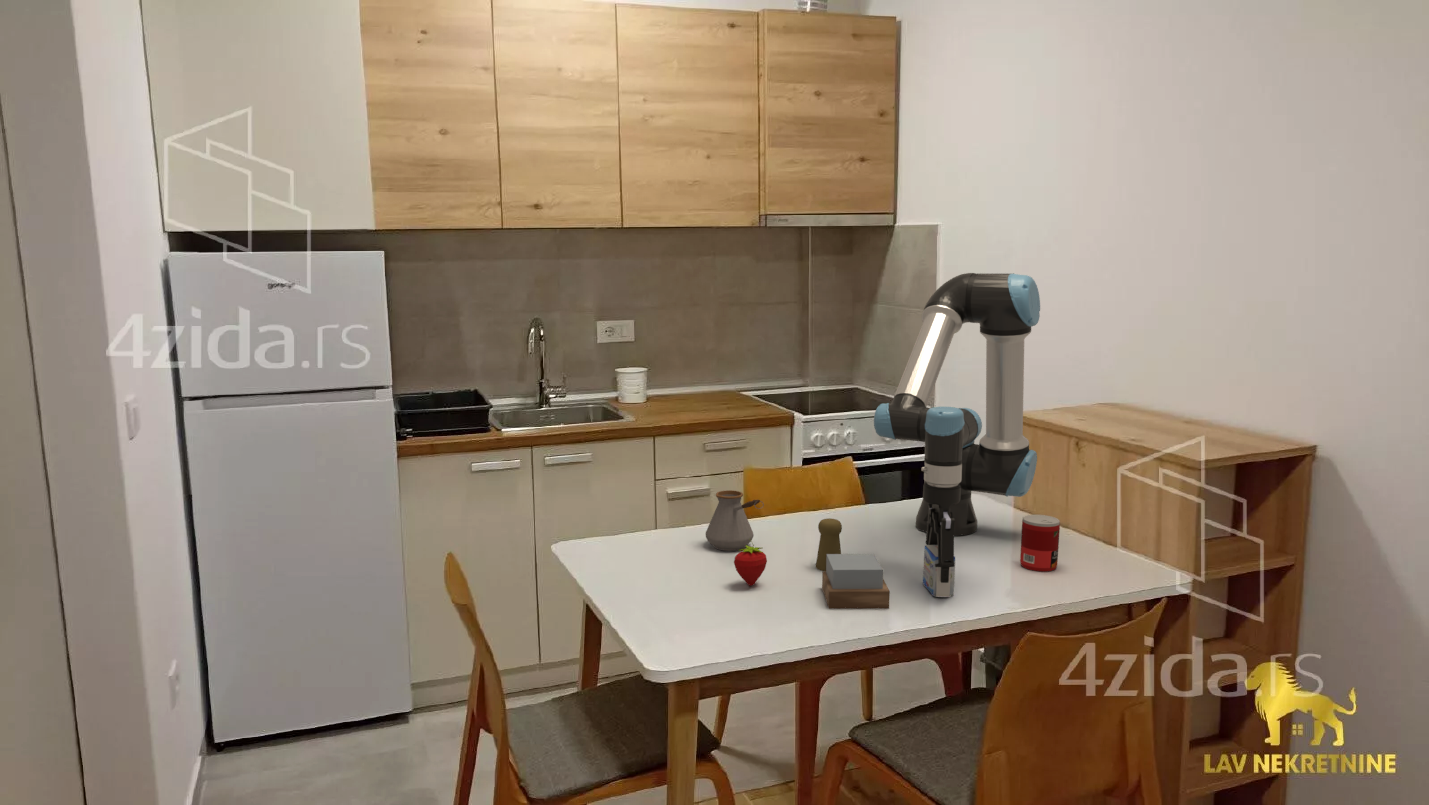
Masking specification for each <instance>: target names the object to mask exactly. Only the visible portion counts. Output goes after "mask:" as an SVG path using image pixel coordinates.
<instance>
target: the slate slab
mask: <svg viewBox="0 0 1429 805" xmlns="http://www.w3.org/2000/svg"><path fill="white" fill-rule="evenodd" d="M883 568H884V567H882V564H881V562H879V560H878V558H877V556H876V554H875V553H841V554H826V571H825V572H826V574H827V576H828V578H829V581H830V583H831V586H832V588H833V589H883V579H884V569H883Z"/></svg>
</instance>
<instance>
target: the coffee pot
mask: <svg viewBox="0 0 1429 805" xmlns="http://www.w3.org/2000/svg"><path fill="white" fill-rule="evenodd" d="M743 496H744V493H743V492H742V491H739V490H720V491H717V492H716V494H715V497H716V498H717V501H718V503H717V505H716V508H715V511H714V513H713V515H712V517H711V520H710V522H709V524H708V527H707V528H706V530H705V538H706V540H707V542H708V543H710V545H711V546H714V547H715V549H716V550H720V551H727V552H728V551H729V552H731V551H739V550H741V549H746V545H747V546H748V545H749V544H750V543H752V542H751V541H752V540H753V538H754V532H753V529H752V527H751V524H750V522H749V519H748V517H747V515H746V513H745V510H744V509H747V508H751V507H753V506H754V507H755V509H758V510H760V509H762V507H764V505H765V504H764V502H763V501H762V500H760V499H753V500H752V501H751V500H750V501H747V502H745V503H743V504H742V503H741V500H742V497H743ZM759 503H761V504H762V507H760V508H759V507H756V505H759ZM750 540H751V541H750ZM714 547H713V548H714Z"/></svg>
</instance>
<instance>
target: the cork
mask: <svg viewBox="0 0 1429 805" xmlns="http://www.w3.org/2000/svg"><path fill="white" fill-rule="evenodd" d="M817 528H818V532H819V533H820V537H819V542H818V549H817V555H816V556H817V557H816V561H815V562H816V563H815V569H817V570H819V571H821V572H826V554H842V549H841V548H842V547H841V539H840V534H841V532H842V530H843V525H842V523H841V521H839V519H836V518H824V519H821V520H819V522H818V527H817Z"/></svg>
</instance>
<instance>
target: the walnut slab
mask: <svg viewBox="0 0 1429 805" xmlns="http://www.w3.org/2000/svg"><path fill="white" fill-rule="evenodd" d="M821 572H822V575H821V577H822V578H821V580H822V582H821V583H822V584H821V585H822V586H821V589H822V592H823V595H824V598H825V602H826V604H827V606H828V609H829V610H831V609H835V610H836V609H837V610H838V609H840V610H843V609H847V610H848V609H850V610H853V609H854V610H856V609H859V610H861V609H865V610H868V609H870V610H871V609H875V610H876V609H879V610H880V609H883V610H885V609H886V610H888V609H890V594H891V593H890V589H889V586H888V585H887V584H886V581H885V580H884V578H883V589H833V588H832V586H831V583H830V581H829V578H828V576H827V574H826V571H821Z"/></svg>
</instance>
